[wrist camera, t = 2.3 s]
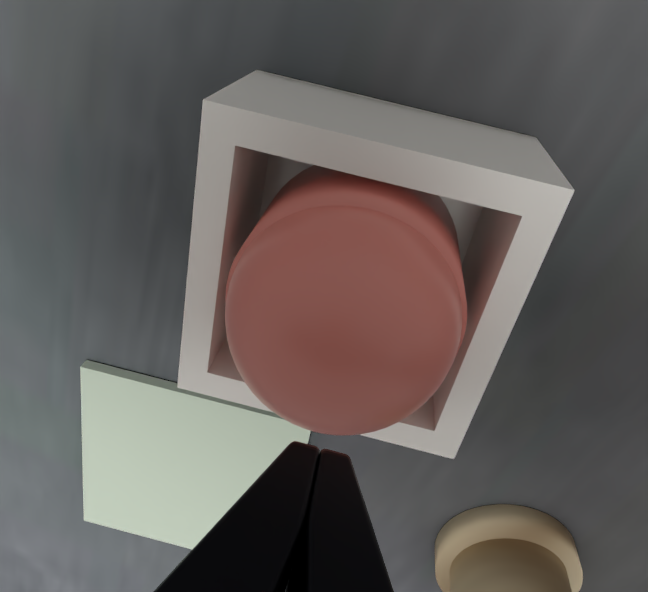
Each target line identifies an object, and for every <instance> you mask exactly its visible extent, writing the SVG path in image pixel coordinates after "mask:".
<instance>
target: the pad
mask: <svg viewBox="0 0 648 592" xmlns="http://www.w3.org/2000/svg"><path fill="white" fill-rule="evenodd" d="M80 371H81V416H82V461H83V505H84V521H88V522H92V523H95V524H99V525H103V526H107V527H110V528H114V529H118V530H121V531H125V532H129V533H133V534H136V535H140V536H144V537H148V538H151V539H155V540H159V541H163V542H166V543H170V544H174V545H178V546H181V547H185V548H189V549H193V548H194V547H195V546H196V545H197V544H198V543H199V542H200V541H201V539H202V538H203V537H204V536H205V535H206V534H207V533H208V532H209V531H210V530H211V529H212V527H213V526H214V525H215V524H216V523H217V522H218V521H219V520H220V519H221V518H222V517H223V516H224V514H225V513H226V512H227V511H228V510H229V509H230V508H231V507H232V506H233V505H234V504H235V502H236V501H237V500H238V499H239V498H240V497H241V496H242V495H243V494H244V493H245V492H246V490H247V489H248V488H249V487H250V486H251V485H252V484H253V483H254V482H255V481H256V480H257V478H258V477H259V476H260V475H261V474H262V473H263V472H264V471H265V470H266V469H267V468H268V467H269V465H270V464H271V463H272V462H273V461H274V460H275V459H276V458H277V457H278V456H279V455H280V453H281V452H282V451H283V450H284V449H285V448H286V447H287V446H288V445H289V444H290V443H291V442H293V441H298V442H301V443H305V444H308V440H309V437H310V433H311V431H310V430H307V429H304V428H301V427H299V426H296V425H294V424H292V423H290V422H288V421H286V420H285V419H283V418H281V417H280V416H278V415H277V414H275V413H274V412H270V411H266V410H262V409H258V408H254V407H250V406H247V405H243V404H239V403H235V402H231V401H227V400H223V399H220V398H216V397H212V396H208V395H204V394H200V393H196V392H193V391H189V390H185V389H181V388H177V384H178V383H174V382H170V381H166V380H163V379H159V378H155V377H151V376H147V375H143V374H139V373H136V372H132V371H128V370H124V369H120V368H116V367H112V366H108V365H105V364H101V363H97V362H93V361H89V360H86V361H85V362H84V363H83V364H82V365H81V367H80Z"/></svg>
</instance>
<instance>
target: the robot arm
mask: <svg viewBox="0 0 648 592" xmlns="http://www.w3.org/2000/svg"><path fill="white" fill-rule="evenodd" d="M319 452H320V454H319ZM285 590H286V592H394V591H393V588H392V585H391V582H390V579H389V576H388V572H387V569H386V566H385V563H384V560H383V557H382V554H381V551H380V548H379V545H378V542H377V539H376V536H375V533H374V529H373V526H372V523H371V520H370V517H369V514H368V511H367V508H366V505H365V502H364V499H363V496H362V493H361V490H360V486H359V483H358V480H357V477H356V474H355V471H354V468H353V465H352V462H351V459H350V457H349V456H348V455H346V454H343V453H340V452H336V451H332V450H328V449H323V450H321V451H319V448H318V447H316V446H313V445H309V444H305V443H301V442H298V441H293V442H291V443H290V444H289V445H288V446H287V447H286V448H285V449H284V450H283V451H282V452H281V453H280V455H279V456H278V457H277V458H276V459H275V460H274V461H273V462H272V463H271V464H270V465H269V467H268V468H267V469H266V470H265V471H264V472H263V473H262V474H261V475H260V476H259V477H258V478H257V480H256V481H255V482H254V483H253V484H252V485H251V486H250V487H249V488H248V489H247V490H246V492H245V493H244V494H243V495H242V496H241V497H240V498H239V499H238V500H237V501H236V502H235V504H234V505H233V506H232V507H231V508H230V509H229V510H228V511H227V512H226V513H225V514H224V516H223V517H222V518H221V519H220V520H219V521H218V522H217V523H216V524H215V525H214V526H213V527H212V529H211V530H210V531H209V532H208V533H207V534H206V535H205V536H204V537H203V538H202V539H201V541H200V542H199V543H198V544H197V545H196V546H195V547H194V548H193V549H192V550H191V551H190V553H189V554H188V555H187V556H186V557H185V558H184V559H183V560H182V561H181V562H180V563H179V565H178V566H177V567H176V568H175V569H174V570H173V571H172V572H171V573H170V574H169V575H168V577H167V578H166V579H165V580H164V581H163V582H162V583H161V584H160V585H159V586H158V587H157V588H156V590H155V591H154V592H285Z"/></svg>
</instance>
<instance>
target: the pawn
mask: <svg viewBox="0 0 648 592" xmlns="http://www.w3.org/2000/svg"><path fill="white" fill-rule="evenodd" d="M435 573H436V579H437V582H438V585H439V587H440V588H441V590H442V591H443V592H579V590H580V588H581V586H582V581H583V571H582V567H581V564H580V560H579V556H578V553H577V549H576V545H575V542H574V539H573V537H572V535H571V534H570V532H569V531H568V530H567V528H566V527H565V526H564V525H562V524H561V523H560V522H559V521H557V520H556V519H555V518H553V517H551V516H550V515H548V514H546V513H543V512H541V511H539V510H536V509H532V508H529V507H524V506H519V505H511V504H495V505H486V506H480V507H476V508H472V509H470V510H467V511H464V512H462V513H460V514H458V515H456V516H455V517H453V518H452V519H450V520H449V521H448V522H447V523H446V524H445V525H444V526H443V527H442V528H441V530H440V531H439V533H438V535H437V538H436V541H435Z"/></svg>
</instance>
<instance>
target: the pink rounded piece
mask: <svg viewBox="0 0 648 592" xmlns="http://www.w3.org/2000/svg"><path fill="white" fill-rule="evenodd" d="M225 302H226V306H225V325H226V336H227V341H228V345H229V349H230V352H231V355H232V358H233V360H234V363H235V365H236V368H237V370H238V372H239V373H240V375H241V377H242V379H243V380H244V382H245V383H246V384H247V386H248V387H249V389H250V390H251V391H252V393H253V394H254V395H255V396H256V397H257V398H258V399H259V400H260V401H261V402H262V403H263V404H264V405H265V406H266V407H267V408H269V409H270V410H271V411H273V412H274V413H275V414H277V415H278V416H280V417H281V418H283V419H285V420H286V421H288V422H290V423H292V424H294V425H296V426H299V427H301V428H304V429H307V430H310V431H313V432H318V433H322V434H329V435H357V434H365V433H370V432H375V431H378V430H381V429H384V428H387V427H389V426H391V425H393V424H395V423H398V422H399V421H401V420H403V419H405V418H406V417H408V416H409V415H411V414H413V413H414V412H415V411H416V410H418V409H419V408H420V407H421V406H423V405H424V404H425V403H426V402H427V401H428V400H429V398H430V397H431V396H432V395H433V394H434V393H435V392H436V391H437V390H438V388H439V387H440V385H441V384H442V382H443V381H444V379H445V378H446V376H447V374H448V372H449V370H450V368H451V366H452V364H453V362H454V359H455V357H456V355H457V353H458V351H459V349H460V347H461V344H462V341H463V338H464V335H465V330H466V324H467V301H466V294H465V287H464V280H463V273H462V266H461V259H460V252H459V245H458V238H457V232H456V229H455V225H454V222H453V219H452V217H451V215H450V213H449V211H448V209H447V207H446V205H445V204H444V202H443V201H442V199H441V198H440V196H439V195H434V194H430V193H426V192H422V191H418V190H414V189H410V188H406V187H402V186H398V185H394V184H390V183H386V182H382V181H378V180H374V179H369V178H365V177H361V176H357V175H353V174H349V173H345V172H341V171H337V170H333V169H329V168H325V167H321V166H317V165H313V166H311V167H309V168H307V169H305V170H303V171H301V172H300V173H299V174H297V175H296V176H295V177H293V178H292V179H290V180H289V181H288V182H287V183H286V184H285V185H284V186H283V187H282V188H281V190H280V191H279V192H278V193H277V195H276V196H275V197H274V199H273V200H272V202H271V203H270V205H269V206H268V208H267V209H266V211H265V212H264V214H263V215H262V217H261V218H260V220H259V221H258V223H257V224H256V226H255V227H254V229H253V230H252V232H251V233H250V235H249V236H248V238H247V239H246V241H245V242H244V244H243V245H242V247H241V248H240V250H239V252H238V253H237V255H236V257H235V259H234V261H233V263H232V266H231V269H230V271H229V275H228V279H227V284H226V297H225Z"/></svg>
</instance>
